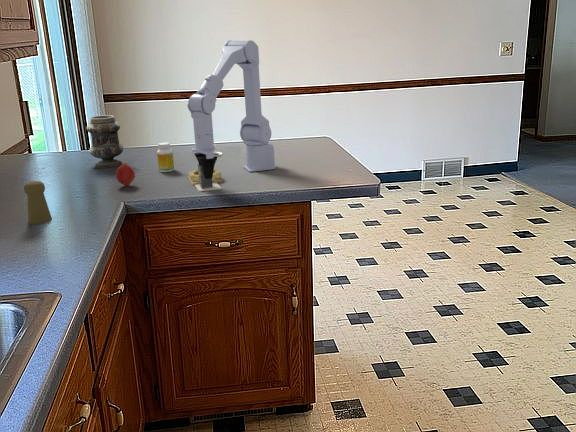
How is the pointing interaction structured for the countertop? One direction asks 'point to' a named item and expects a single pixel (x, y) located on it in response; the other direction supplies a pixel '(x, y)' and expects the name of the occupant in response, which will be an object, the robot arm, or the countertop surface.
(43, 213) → the yellow tapered knobbed piece
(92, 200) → the countertop surface
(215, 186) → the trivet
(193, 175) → the collar
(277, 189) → the countertop surface
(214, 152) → the teacup and saucer
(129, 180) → the pomegranate
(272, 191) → the countertop surface
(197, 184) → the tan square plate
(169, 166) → the supplement bottle
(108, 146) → the carved stone vase
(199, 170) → the steel block
